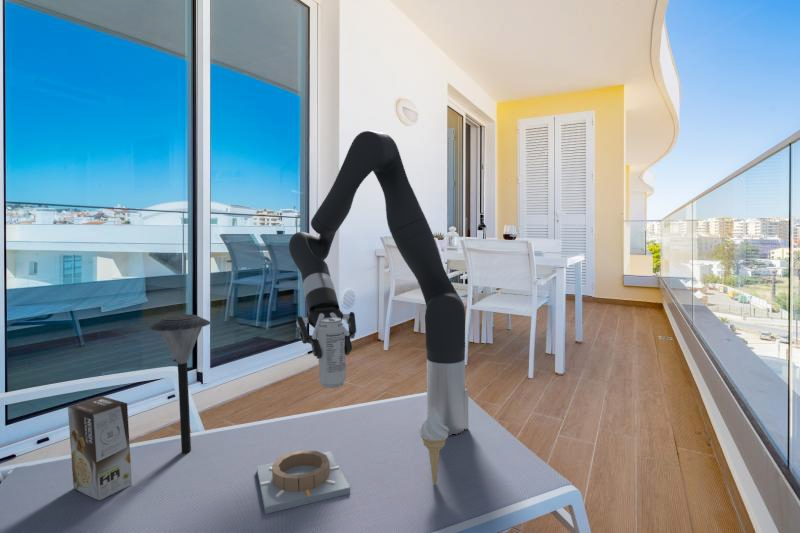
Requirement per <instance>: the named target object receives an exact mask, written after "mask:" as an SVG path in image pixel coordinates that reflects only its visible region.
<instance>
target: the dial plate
mask: <svg viewBox="0 0 800 533" xmlns="http://www.w3.org/2000/svg"><path fill="white" fill-rule="evenodd" d="M334 457H335V456H334V455H333V454H332V452H331V451H324V452H320V451H317V450H307V449H306V450H305V449H304V450H303V449H302V450H298V451H297V450H296V451H293V452H292V451H291V452H289V453H286V454H284V455H282V456H280V457H279V458H277V459H276V460H274V462H271V463H265V464H260V465H256V475H257V479H258V484H259V489H260V493H261V499H262V503H263V510H264V514H265V515H267V514H271V513H275V512H280V511H283V510H287V509H288V510H289V509H292V508H297V507H301V506H304V505H308V504H313V503H316V502H320V501H321V502H322V501H325V500H330V499H334V498H336V497H337V498H338V497H340V496H341V497H342V496H345V495H350V494H351V486H350V484H349V483H348V480H347V479H346V477H345V475H344V474H343V472H342V470H341V468H340V466H339V465H338V462H337V461H336V459H335V458H334Z"/></svg>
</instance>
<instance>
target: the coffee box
mask: <svg viewBox="0 0 800 533" xmlns="http://www.w3.org/2000/svg"><path fill="white" fill-rule="evenodd" d="M128 413H129V412H128V402H124V401H120V400H116V399H114V398H113V399H112V398H111V397H110V398H109V397H105V396H102V395H101V396H97V397H93V398H90V399H86V400H84V401H80V402H78V403H76V404H72V405H68V406H67V414H68V428H69V441H70V442H69V443H70V455H71V456H70V457H71V469H72V484H73V489H74V490H75V489H76V490H75V491H77V490H78V491H77V492H80V493H82V494H84V495H86V496H88V497H89V498H90V497H91V498H92V499H95V500H97V501H102V500H104V499H105V498H108V497H109V496H112V495H114V494H116V493H118V492H119V491H122V490H123V489H126V488H128V487H130V486H132V484H133V482H132V481H133V480H132V466H131V465H132V464H131V463H132V462H131V449H130V448H131V447H130V446H131V444H130V429H129V426H130V425H129V414H128Z"/></svg>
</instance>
